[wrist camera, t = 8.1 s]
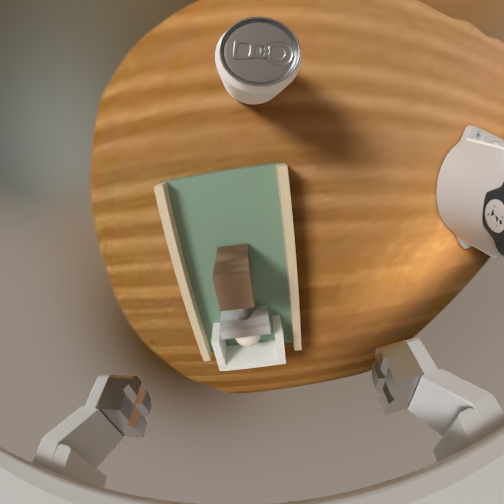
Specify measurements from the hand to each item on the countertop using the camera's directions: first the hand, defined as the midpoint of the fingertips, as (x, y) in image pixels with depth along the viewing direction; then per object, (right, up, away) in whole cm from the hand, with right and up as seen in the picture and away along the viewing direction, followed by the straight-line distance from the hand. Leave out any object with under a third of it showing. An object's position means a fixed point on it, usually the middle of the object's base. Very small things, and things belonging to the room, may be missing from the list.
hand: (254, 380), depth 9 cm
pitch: (-2, +2, +28) cm, 28 cm away
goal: (0, -7, +31) cm, 32 cm away
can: (0, +23, +18) cm, 29 cm away
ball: (-1, -6, +28) cm, 29 cm away
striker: (-2, 0, +27) cm, 27 cm away
